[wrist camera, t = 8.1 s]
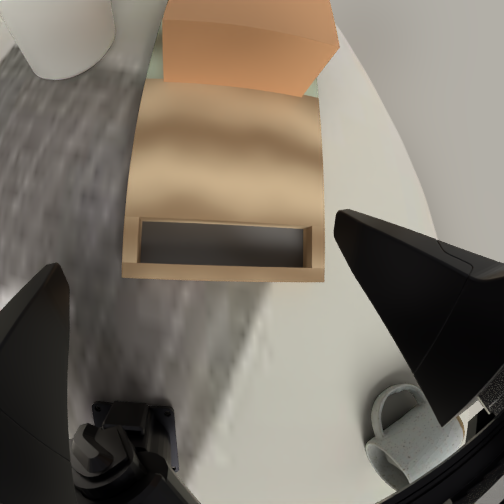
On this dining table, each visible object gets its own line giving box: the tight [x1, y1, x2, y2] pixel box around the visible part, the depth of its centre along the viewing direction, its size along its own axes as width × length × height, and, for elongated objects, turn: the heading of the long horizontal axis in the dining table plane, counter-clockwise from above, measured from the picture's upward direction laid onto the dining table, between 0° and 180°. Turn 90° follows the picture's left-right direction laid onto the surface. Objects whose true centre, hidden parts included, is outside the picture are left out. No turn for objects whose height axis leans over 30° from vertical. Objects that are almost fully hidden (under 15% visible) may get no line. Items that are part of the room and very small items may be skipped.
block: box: [162, 0, 340, 97], centre depth 18 cm, size 7×11×7 cm, turn 89°
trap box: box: [122, 0, 325, 282], centre depth 22 cm, size 28×14×2 cm, turn 179°
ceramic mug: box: [365, 384, 465, 491], centre depth 21 cm, size 11×8×8 cm
